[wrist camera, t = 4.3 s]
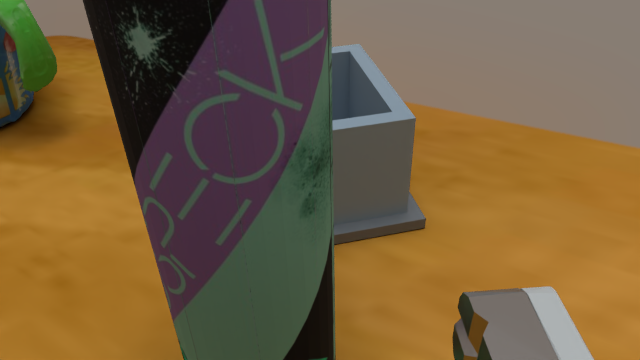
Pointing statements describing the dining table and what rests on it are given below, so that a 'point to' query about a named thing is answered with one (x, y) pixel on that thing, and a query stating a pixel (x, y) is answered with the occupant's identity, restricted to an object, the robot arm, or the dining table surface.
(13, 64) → the snack cup
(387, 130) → the collar stand
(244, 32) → the spray can
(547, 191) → the dining table surface
